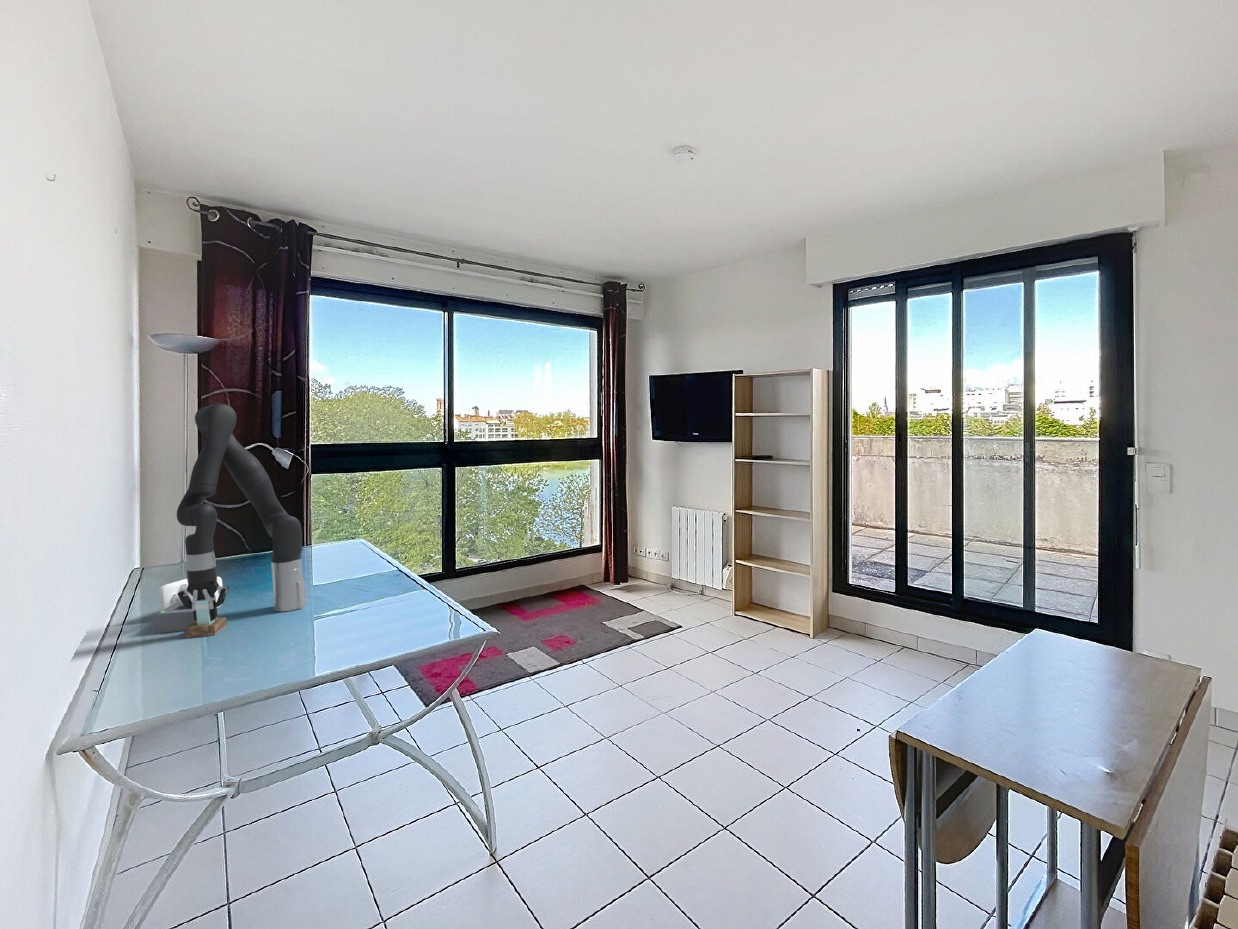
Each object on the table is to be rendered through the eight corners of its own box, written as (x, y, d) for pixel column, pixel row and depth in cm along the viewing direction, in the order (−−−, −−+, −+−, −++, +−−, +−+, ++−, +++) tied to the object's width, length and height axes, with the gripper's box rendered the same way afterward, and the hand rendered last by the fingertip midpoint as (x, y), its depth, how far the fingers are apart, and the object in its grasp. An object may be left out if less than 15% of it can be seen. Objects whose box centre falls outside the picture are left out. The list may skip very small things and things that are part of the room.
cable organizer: (185, 621, 193) (182, 587, 192) (160, 619, 196) (156, 586, 195) (224, 606, 208) (222, 575, 207) (200, 605, 210) (198, 574, 209)
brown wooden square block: (226, 626, 187) (225, 617, 187) (215, 635, 179) (214, 625, 179) (198, 628, 185) (198, 619, 185) (185, 637, 177) (185, 628, 177)
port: (212, 618, 195) (210, 599, 195) (196, 629, 185) (194, 609, 184) (175, 621, 193) (173, 602, 193) (156, 633, 182) (155, 613, 182)
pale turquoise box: (215, 627, 184) (213, 596, 183) (210, 631, 181) (207, 600, 180) (203, 628, 183) (200, 597, 183) (197, 632, 180) (195, 601, 179)
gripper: (231, 562, 186) (236, 614, 187) (182, 565, 183) (186, 618, 184) (221, 568, 178) (225, 622, 180) (169, 571, 175) (174, 626, 177)
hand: (205, 620), depth 182 cm, fingers closed on pale turquoise box, 3 cm apart
